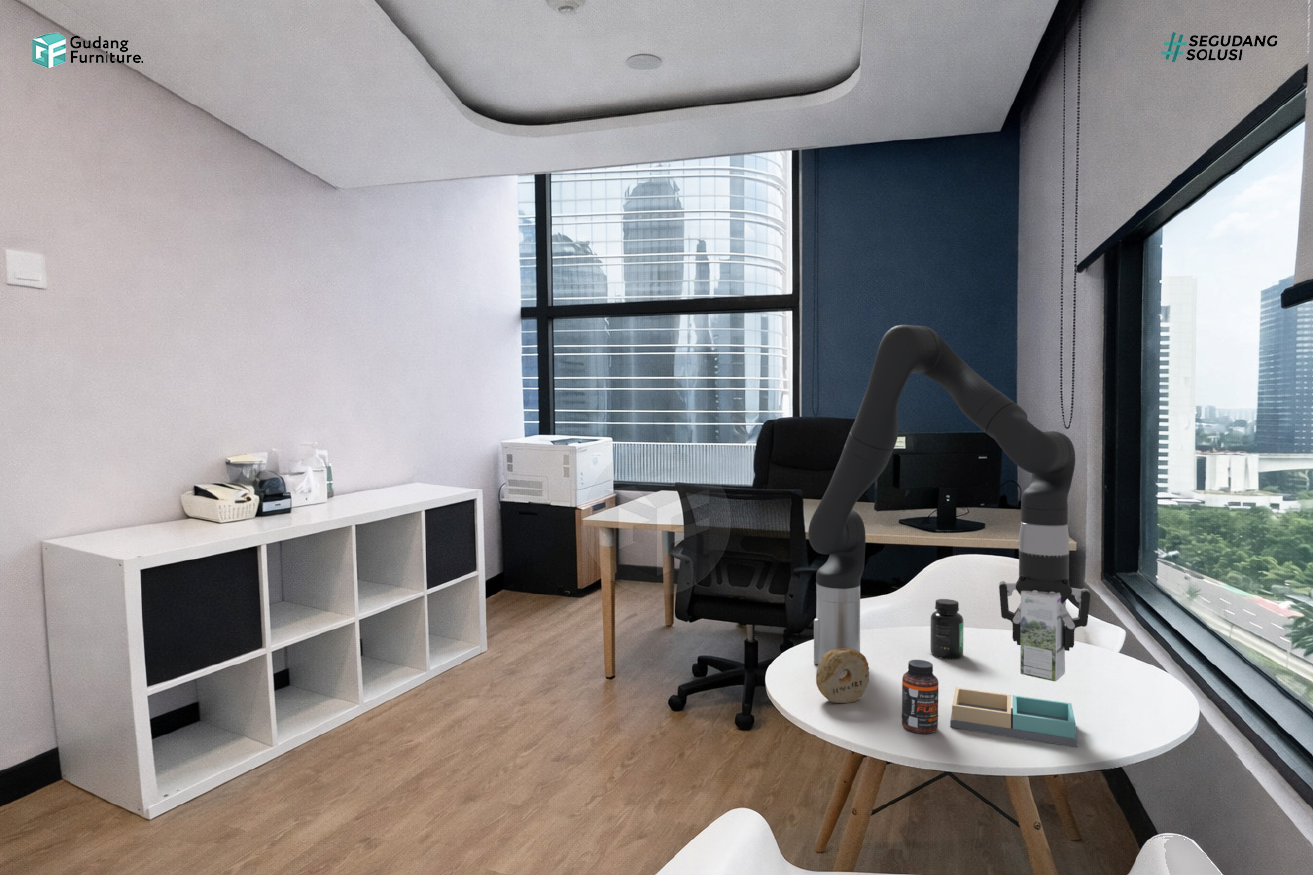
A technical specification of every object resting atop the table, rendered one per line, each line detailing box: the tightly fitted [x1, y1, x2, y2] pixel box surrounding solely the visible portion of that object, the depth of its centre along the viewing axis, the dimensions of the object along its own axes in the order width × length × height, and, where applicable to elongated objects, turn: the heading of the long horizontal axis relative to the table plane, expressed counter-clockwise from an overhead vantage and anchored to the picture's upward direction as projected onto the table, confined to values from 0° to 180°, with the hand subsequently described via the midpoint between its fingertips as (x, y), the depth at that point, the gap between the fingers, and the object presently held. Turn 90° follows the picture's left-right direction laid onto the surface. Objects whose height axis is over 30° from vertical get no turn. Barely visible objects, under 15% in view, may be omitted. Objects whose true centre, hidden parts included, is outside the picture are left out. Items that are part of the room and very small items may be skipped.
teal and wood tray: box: [949, 687, 1078, 748], centre depth 131 cm, size 19×10×4 cm, turn 65°
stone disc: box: [815, 648, 870, 704], centre depth 143 cm, size 10×4×10 cm, turn 106°
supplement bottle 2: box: [929, 598, 964, 660], centre depth 168 cm, size 7×7×12 cm
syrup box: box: [1019, 591, 1067, 682], centre depth 128 cm, size 6×6×14 cm
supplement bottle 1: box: [901, 659, 939, 735], centre depth 130 cm, size 6×6×11 cm
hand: (1042, 646), depth 129 cm, fingers closed on syrup box, 6 cm apart
